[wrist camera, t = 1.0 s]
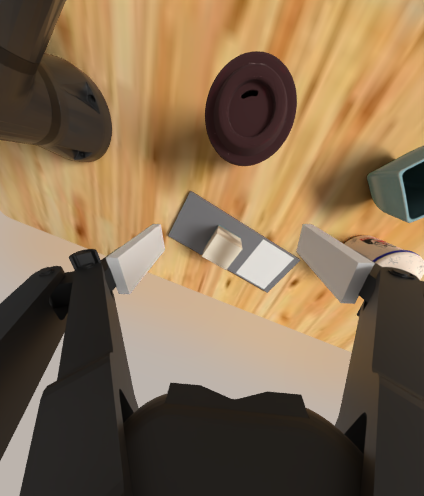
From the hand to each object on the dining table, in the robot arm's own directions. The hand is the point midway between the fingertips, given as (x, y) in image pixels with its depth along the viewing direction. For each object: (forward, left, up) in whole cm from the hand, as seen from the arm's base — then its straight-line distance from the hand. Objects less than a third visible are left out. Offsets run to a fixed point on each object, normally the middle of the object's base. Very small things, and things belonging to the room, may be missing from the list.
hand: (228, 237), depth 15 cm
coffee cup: (-4, +11, -22) cm, 25 cm away
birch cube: (+4, -8, -21) cm, 23 cm away
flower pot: (+23, +19, -22) cm, 37 cm away
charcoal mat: (+7, -8, -22) cm, 24 cm away
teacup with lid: (+30, +6, -22) cm, 37 cm away
